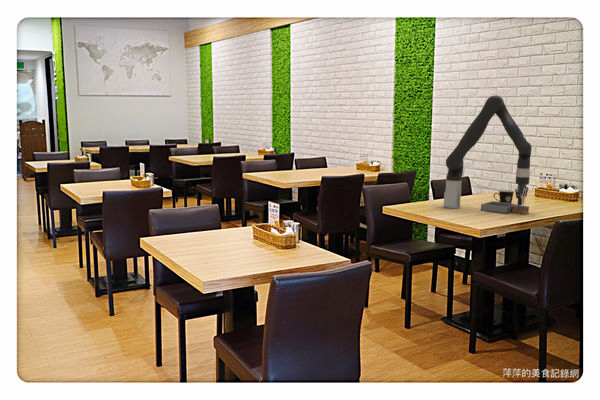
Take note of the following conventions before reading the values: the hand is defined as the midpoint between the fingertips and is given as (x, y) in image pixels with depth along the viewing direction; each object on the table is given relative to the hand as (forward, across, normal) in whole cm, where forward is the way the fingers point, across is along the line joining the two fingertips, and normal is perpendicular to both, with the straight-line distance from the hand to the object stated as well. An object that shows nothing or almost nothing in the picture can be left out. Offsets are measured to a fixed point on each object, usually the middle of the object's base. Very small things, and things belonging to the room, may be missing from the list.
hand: (520, 204), depth 326 cm
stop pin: (+5, 0, 0) cm, 5 cm away
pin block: (+5, 0, 0) cm, 5 cm away
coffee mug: (+5, -15, -18) cm, 24 cm away
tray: (+5, +2, -12) cm, 14 cm away
